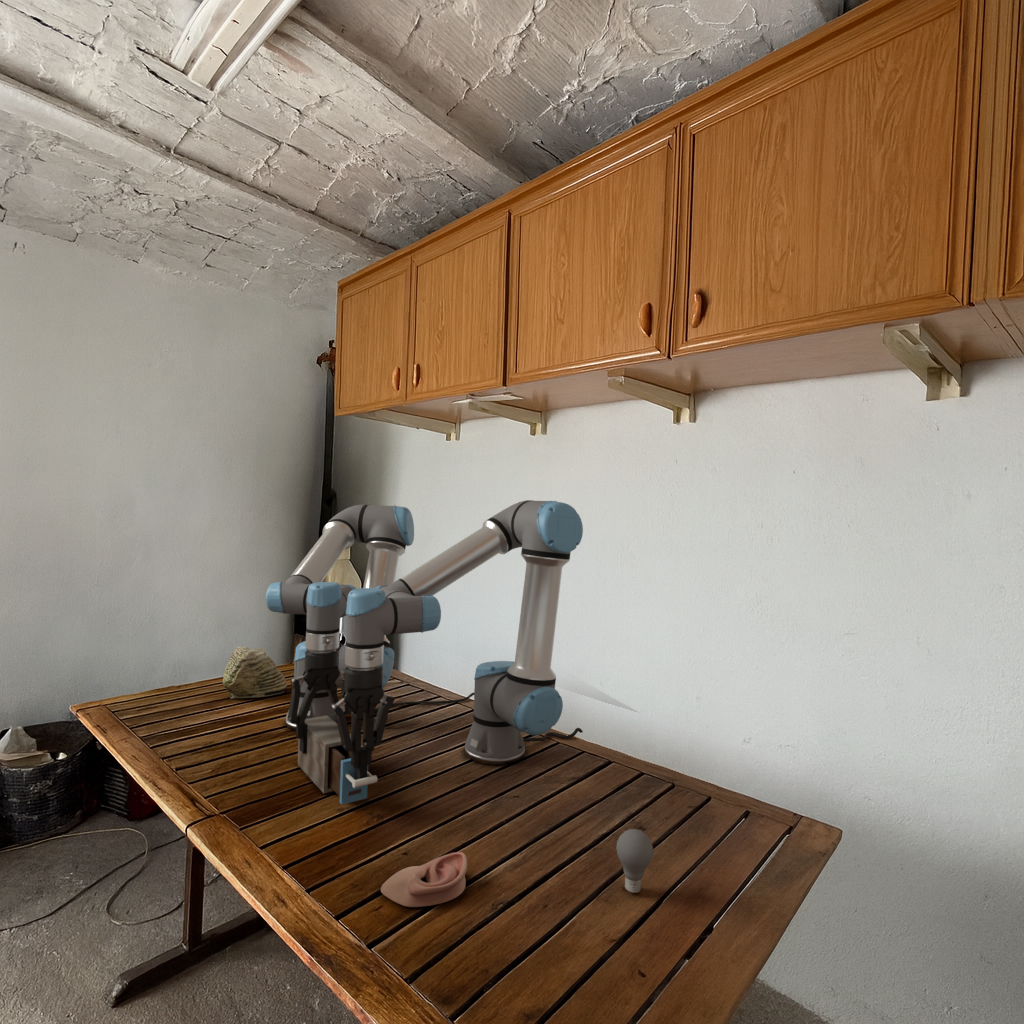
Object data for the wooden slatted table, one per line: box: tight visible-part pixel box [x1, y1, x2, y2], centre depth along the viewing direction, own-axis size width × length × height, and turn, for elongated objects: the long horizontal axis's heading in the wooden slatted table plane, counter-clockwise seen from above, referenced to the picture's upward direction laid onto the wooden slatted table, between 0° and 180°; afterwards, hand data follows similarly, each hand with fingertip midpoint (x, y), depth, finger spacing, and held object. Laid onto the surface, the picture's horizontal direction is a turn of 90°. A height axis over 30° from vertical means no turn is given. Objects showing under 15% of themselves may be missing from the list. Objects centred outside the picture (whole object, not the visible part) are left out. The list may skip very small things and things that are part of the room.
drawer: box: [328, 745, 378, 806], centre depth 134 cm, size 22×6×9 cm, turn 36°
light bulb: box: [615, 828, 654, 894], centre depth 106 cm, size 6×6×10 cm
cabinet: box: [297, 716, 351, 794], centre depth 144 cm, size 17×7×10 cm, turn 36°
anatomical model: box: [380, 851, 468, 908], centre depth 104 cm, size 13×4×12 cm
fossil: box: [222, 646, 288, 699], centre depth 198 cm, size 9×18×15 cm, turn 132°
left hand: (318, 748), depth 147 cm, fingers closed on cabinet, 7 cm apart
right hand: (360, 781), depth 128 cm, fingers closed
